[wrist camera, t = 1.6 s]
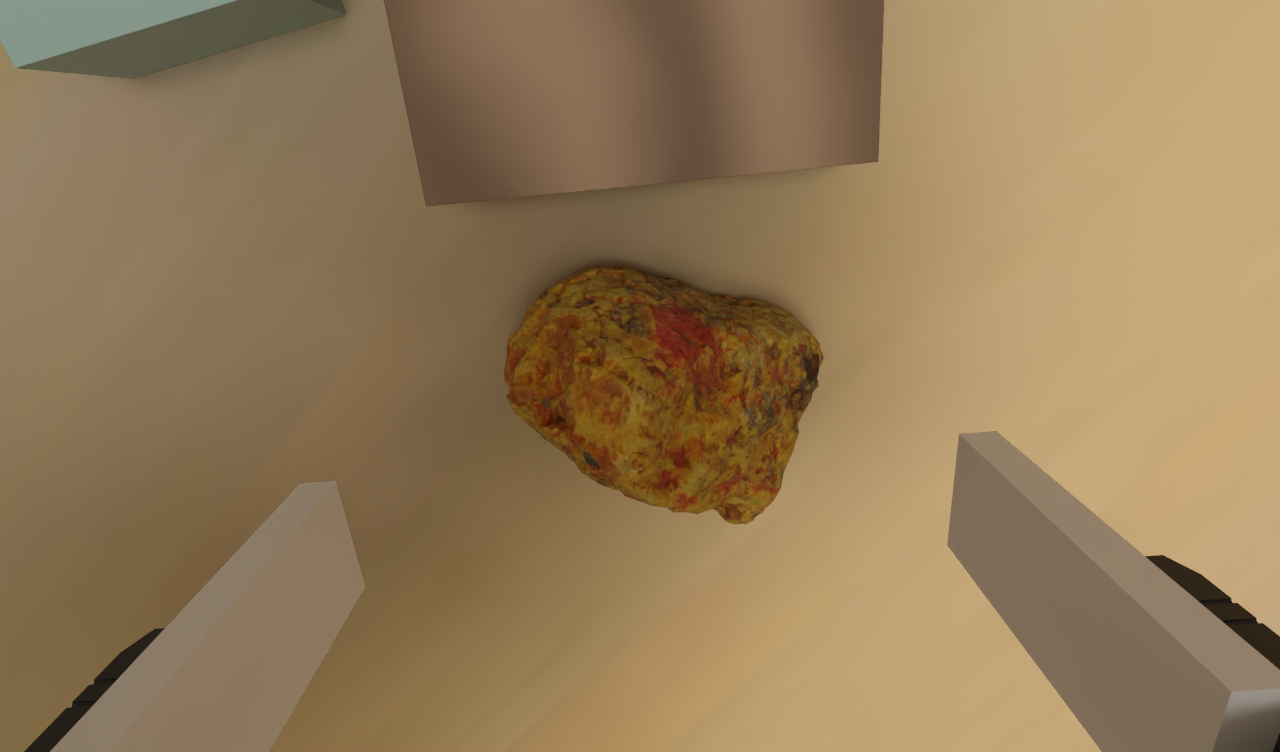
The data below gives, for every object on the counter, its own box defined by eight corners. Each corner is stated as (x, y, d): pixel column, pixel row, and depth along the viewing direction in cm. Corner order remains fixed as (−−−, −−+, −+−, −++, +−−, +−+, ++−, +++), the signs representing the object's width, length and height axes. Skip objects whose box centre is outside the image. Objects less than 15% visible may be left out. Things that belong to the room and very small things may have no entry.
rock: (694, 228, 29) (890, 354, 24) (633, 379, 33) (791, 510, 29) (486, 243, 20) (726, 437, 16) (440, 441, 25) (620, 639, 20)
